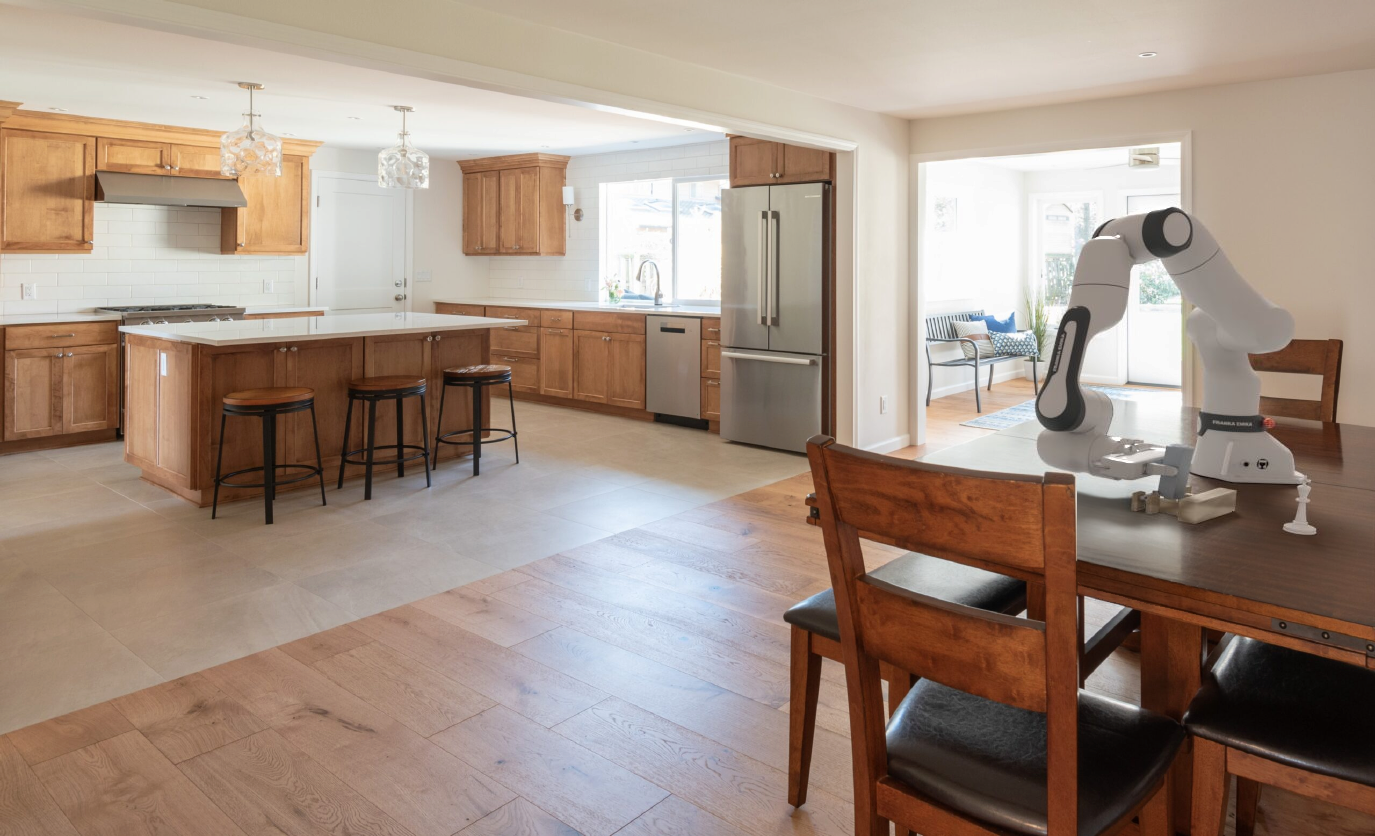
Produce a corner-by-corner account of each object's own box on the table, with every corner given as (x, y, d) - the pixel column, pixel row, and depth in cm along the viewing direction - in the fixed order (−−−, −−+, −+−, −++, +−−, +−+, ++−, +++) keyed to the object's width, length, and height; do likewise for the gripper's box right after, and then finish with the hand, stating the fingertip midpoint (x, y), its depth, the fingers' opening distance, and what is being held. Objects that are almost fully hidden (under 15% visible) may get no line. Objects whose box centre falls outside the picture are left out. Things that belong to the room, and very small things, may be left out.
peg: (1156, 494, 172) (1166, 445, 169) (1167, 492, 174) (1176, 443, 172) (1177, 500, 169) (1187, 450, 166) (1187, 497, 171) (1197, 448, 168)
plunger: (1139, 500, 169) (1139, 494, 169) (1153, 496, 172) (1154, 490, 172) (1145, 501, 168) (1145, 495, 168) (1160, 497, 171) (1160, 491, 171)
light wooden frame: (1130, 510, 170) (1131, 490, 169) (1171, 498, 179) (1173, 479, 179) (1194, 524, 161) (1196, 502, 160) (1234, 510, 170) (1236, 490, 169)
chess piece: (1282, 525, 160) (1288, 471, 158) (1316, 529, 157) (1322, 475, 155) (1282, 532, 156) (1288, 476, 154) (1316, 536, 153) (1322, 480, 151)
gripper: (1086, 448, 174) (1157, 460, 163) (1140, 437, 185) (1210, 447, 174) (1084, 479, 175) (1154, 493, 164) (1138, 466, 186) (1207, 478, 175)
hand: (1183, 469), depth 169 cm, fingers closed on peg, 4 cm apart
